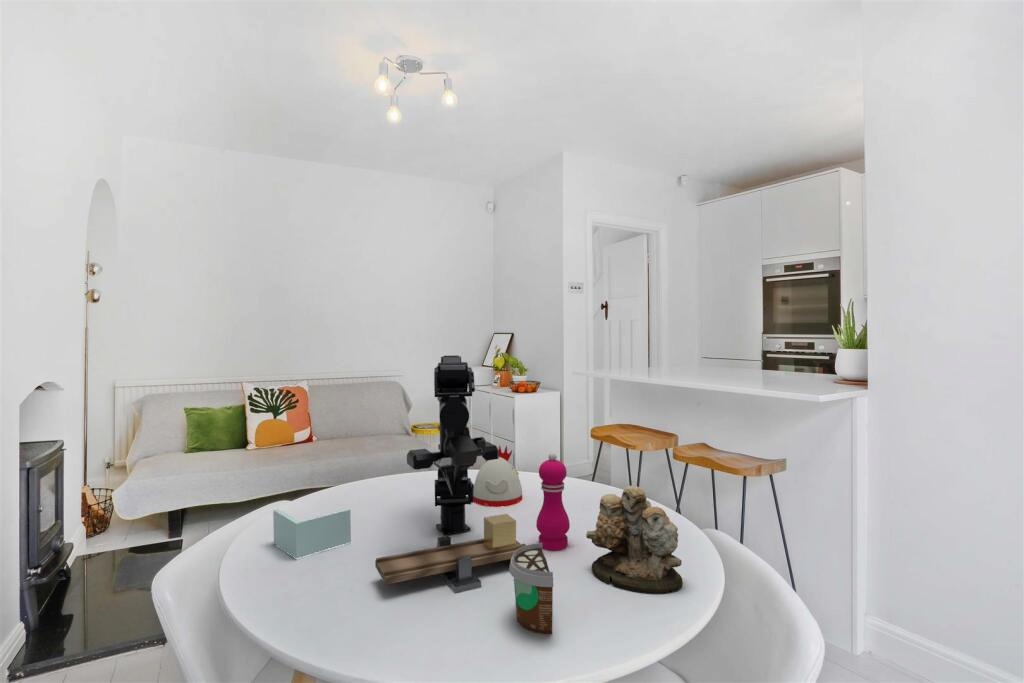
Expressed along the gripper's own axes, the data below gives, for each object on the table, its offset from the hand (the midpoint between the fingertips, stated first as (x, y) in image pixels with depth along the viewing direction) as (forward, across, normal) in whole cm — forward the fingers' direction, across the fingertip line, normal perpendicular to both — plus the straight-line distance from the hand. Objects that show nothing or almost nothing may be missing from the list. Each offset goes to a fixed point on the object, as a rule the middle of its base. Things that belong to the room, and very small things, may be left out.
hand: (453, 495), depth 113 cm
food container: (+12, +1, -31) cm, 33 cm away
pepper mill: (+12, +20, -7) cm, 24 cm away
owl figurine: (+12, +26, -27) cm, 39 cm away
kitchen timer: (+13, +23, +28) cm, 38 cm away
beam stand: (+12, +2, -10) cm, 16 cm away
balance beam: (+9, -4, -10) cm, 14 cm away
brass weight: (+8, +6, -10) cm, 14 cm away
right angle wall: (+12, -26, +18) cm, 34 cm away
